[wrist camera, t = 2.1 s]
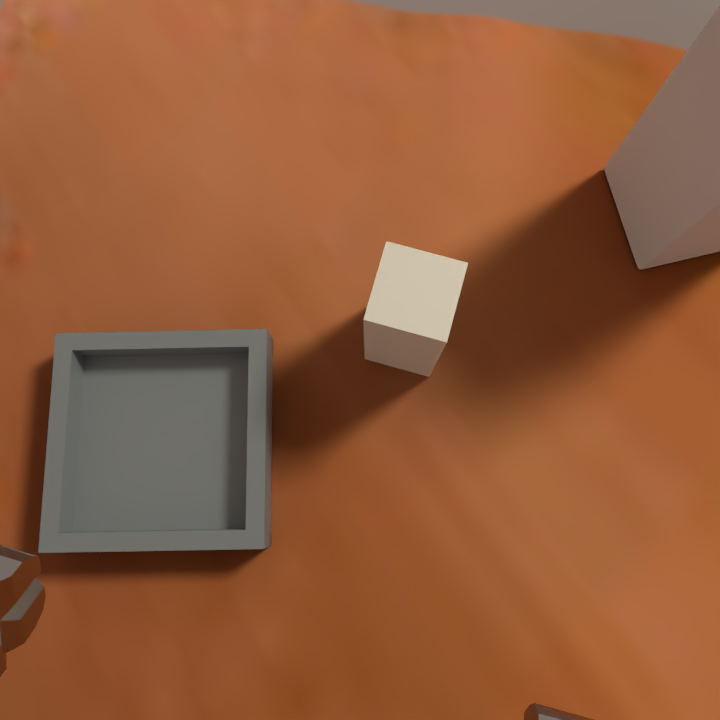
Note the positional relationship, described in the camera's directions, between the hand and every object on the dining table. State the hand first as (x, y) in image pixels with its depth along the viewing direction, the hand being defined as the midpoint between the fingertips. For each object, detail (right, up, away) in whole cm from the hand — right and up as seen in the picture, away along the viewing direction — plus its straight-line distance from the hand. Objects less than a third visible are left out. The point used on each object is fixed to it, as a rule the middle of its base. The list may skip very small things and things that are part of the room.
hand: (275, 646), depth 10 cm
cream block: (+4, +6, +29) cm, 30 cm away
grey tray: (-10, 0, +28) cm, 29 cm away
